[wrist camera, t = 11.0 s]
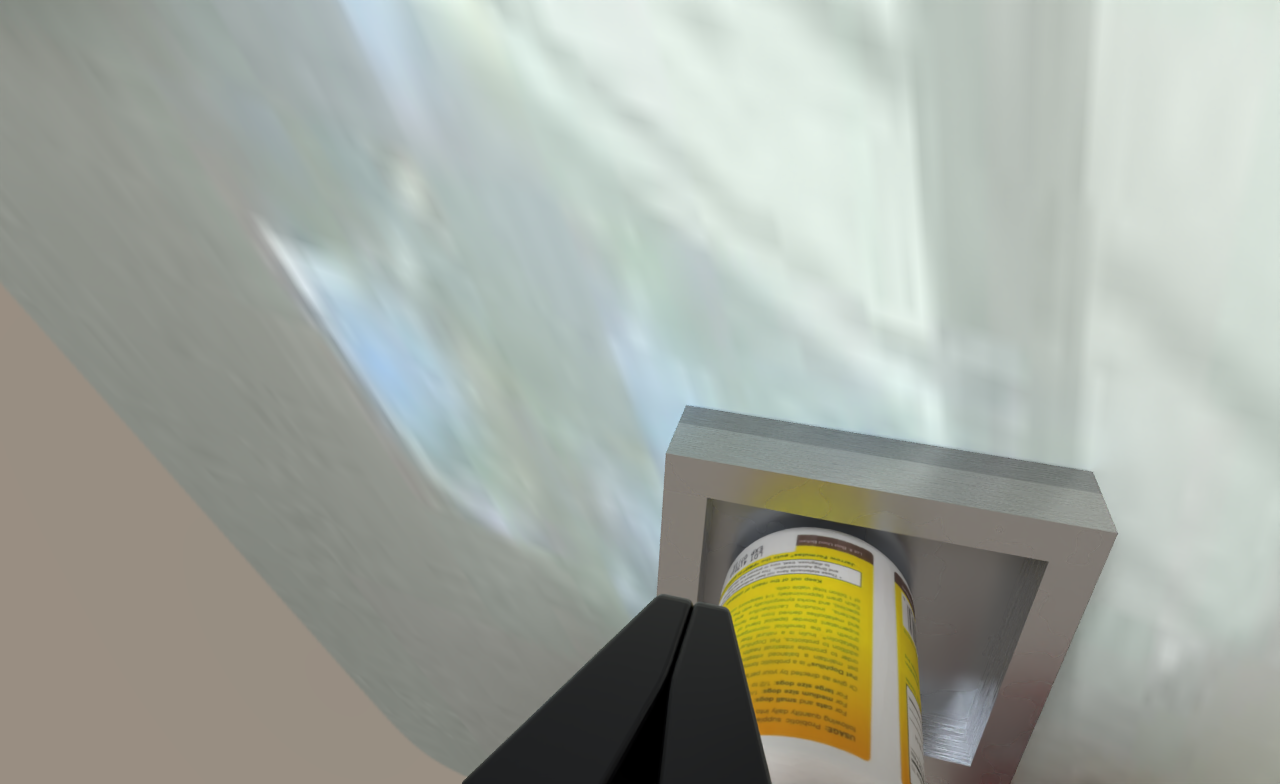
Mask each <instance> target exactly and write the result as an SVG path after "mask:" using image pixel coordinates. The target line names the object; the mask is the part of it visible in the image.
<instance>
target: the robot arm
mask: <svg viewBox="0 0 1280 784" xmlns="http://www.w3.org/2000/svg"><path fill="white" fill-rule="evenodd" d="M462 784H772V782H771V777H770V773H769V769H768V765H767V761H766V757H765V753H764V749H763V745H762V740H761V736H760V732H759V728H758V724H757V720H756V716H755V712H754V708H753V703H752V699H751V695H750V691H749V687H748V683H747V679H746V675H745V670H744V666H743V662H742V658H741V654H740V650H739V646H738V642H737V638H736V633H735V629H734V625H733V621H732V617H731V613H730V611H729V610H728V609H727V608H726V607H723V606H719V605H714V604H709V603H705V602H697V603H695V604H694V606H693V603H692V601H691V600H689V599H686V598H681V597H676V596H672V595H667V594H661V595H658V596H657V597H656V598H654V599H653V600H652V601H651V602H650V603H649V604H648V605H647V606H646V607H645V608H644V609H643V610H642V611H641V612H640V613H639V614H638V615H637V616H636V617H635V618H633V619H632V620H631V621H630V622H629V623H628V624H627V625H626V626H625V627H624V628H623V629H622V630H621V631H620V632H619V633H618V634H617V635H616V636H615V637H614V638H613V639H611V640H610V641H609V642H608V643H607V644H606V645H605V646H604V647H603V648H602V649H601V650H600V651H599V652H598V653H597V654H596V655H595V656H594V657H593V658H592V659H591V660H589V661H588V662H587V663H586V664H585V665H584V666H583V667H582V668H581V669H580V670H579V671H578V672H577V673H576V674H575V675H574V676H573V677H572V678H571V679H570V680H569V681H568V682H566V683H565V684H564V685H563V686H562V687H561V688H560V689H559V690H558V691H557V692H556V693H555V694H554V695H553V696H552V697H551V698H550V699H549V700H548V701H547V702H546V703H544V704H543V705H542V706H541V707H540V708H539V709H538V710H537V711H536V712H535V713H534V714H533V715H532V716H531V717H530V718H529V719H528V720H527V721H526V722H525V723H524V724H523V725H521V726H520V727H519V728H518V729H517V730H516V731H515V732H514V733H513V734H512V735H511V736H510V737H509V738H508V739H507V740H506V741H505V742H504V743H503V744H502V745H501V746H499V747H498V748H497V749H496V750H495V751H494V752H493V753H492V754H491V755H490V756H489V757H488V758H487V759H486V760H485V761H484V762H483V763H482V764H481V765H480V766H479V767H478V768H476V769H475V770H474V771H473V772H472V773H471V774H470V775H469V776H468V777H467V778H466V779H465V780H464V781H463V782H462Z"/></svg>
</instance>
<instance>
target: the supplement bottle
mask: <svg viewBox="0 0 1280 784" xmlns="http://www.w3.org/2000/svg"><path fill="white" fill-rule="evenodd" d="M719 606H723V607H726V608H727V609H728V610H729V611H730V613H731V617H732V621H733V625H734V629H735V633H736V638H737V642H738V646H739V650H740V654H741V658H742V662H743V666H744V670H745V675H746V679H747V683H748V687H749V691H750V695H751V699H752V703H753V708H754V712H755V716H756V720H757V724H758V728H759V732H760V736H761V740H762V745H763V749H764V753H765V757H766V761H767V765H768V769H769V773H770V777H771V782H772V784H925V769H924V752H923V733H922V717H921V700H920V684H919V668H918V651H917V636H916V624H915V611H914V603H913V598H912V594H911V592H910V589H909V586H908V584H907V582H906V580H905V579H904V577H903V575H902V574H901V572H900V571H899V570H898V568H897V567H896V566H895V565H894V563H893V562H892V561H891V560H890V559H889V558H888V557H886V556H885V555H884V554H883V553H882V552H880V551H879V550H878V549H876V548H875V547H873V546H872V545H870V544H868V543H867V542H865V541H863V540H861V539H859V538H857V537H854V536H852V535H849V534H846V533H843V532H839V531H835V530H831V529H825V528H817V527H799V528H790V529H785V530H781V531H777V532H774V533H771V534H769V535H766V536H764V537H762V538H760V539H758V540H756V541H755V542H753V543H752V544H750V545H749V546H748V547H747V548H745V549H744V550H743V551H742V552H741V553H740V554H739V555H738V557H737V558H736V559H735V561H734V562H733V564H732V565H731V567H730V569H729V571H728V573H727V576H726V579H725V582H724V585H723V588H722V592H721V597H720V602H719Z"/></svg>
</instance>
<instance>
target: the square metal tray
mask: <svg viewBox="0 0 1280 784" xmlns="http://www.w3.org/2000/svg"><path fill="white" fill-rule="evenodd" d="M799 527H817V528H825V529H831V530H835V531H839V532H843V533H846V534H849V535H852V536H854V537H857V538H859V539H861V540H863V541H865V542H867V543H868V544H870V545H872V546H873V547H875V548H876V549H878V550H879V551H880V552H882V553H883V554H884V555H885V556H886V557H888V558H889V559H890V560H891V561H892V562H893V563H894V565H895V566H896V567H897V568H898V570H899V571H900V572H901V574H902V575H903V577H904V579H905V580H906V582H907V584H908V586H909V589H910V592H911V594H912V598H913V603H914V611H915V624H916V636H917V651H918V668H919V684H920V700H921V717H922V733H923V752H924V769H925V783H928V784H1010V783H1011V780H1012V778H1013V776H1014V773H1015V771H1016V769H1017V766H1018V764H1019V762H1020V759H1021V757H1022V755H1023V753H1024V750H1025V748H1026V746H1027V743H1028V741H1029V739H1030V736H1031V734H1032V732H1033V729H1034V727H1035V725H1036V722H1037V720H1038V718H1039V715H1040V713H1041V711H1042V708H1043V706H1044V704H1045V701H1046V699H1047V697H1048V694H1049V692H1050V690H1051V687H1052V685H1053V683H1054V680H1055V678H1056V676H1057V674H1058V671H1059V669H1060V667H1061V664H1062V662H1063V660H1064V657H1065V655H1066V653H1067V650H1068V648H1069V646H1070V643H1071V641H1072V639H1073V636H1074V634H1075V632H1076V629H1077V627H1078V625H1079V622H1080V620H1081V618H1082V615H1083V613H1084V611H1085V608H1086V606H1087V604H1088V601H1089V599H1090V597H1091V595H1092V592H1093V590H1094V588H1095V585H1096V583H1097V581H1098V578H1099V576H1100V574H1101V571H1102V569H1103V567H1104V564H1105V562H1106V560H1107V557H1108V555H1109V553H1110V550H1111V548H1112V546H1113V543H1114V541H1115V539H1116V536H1117V534H1118V532H1117V530H1116V527H1115V525H1114V523H1113V520H1112V518H1111V515H1110V513H1109V510H1108V508H1107V505H1106V503H1105V501H1104V498H1103V496H1102V493H1101V491H1100V488H1099V486H1098V483H1097V481H1096V479H1095V476H1094V474H1093V472H1089V471H1083V470H1077V469H1071V468H1065V467H1059V466H1053V465H1047V464H1040V463H1034V462H1028V461H1022V460H1016V459H1010V458H1004V457H998V456H992V455H986V454H979V453H973V452H967V451H961V450H955V449H949V448H943V447H937V446H931V445H925V444H918V443H912V442H906V441H900V440H894V439H888V438H882V437H876V436H870V435H864V434H857V433H851V432H845V431H839V430H833V429H827V428H821V427H815V426H809V425H802V424H796V423H790V422H784V421H778V420H772V419H766V418H760V417H754V416H748V415H741V414H735V413H729V412H723V411H717V410H711V409H705V408H699V407H693V406H687V405H686V407H685V409H684V412H683V414H682V416H681V419H680V421H679V423H678V426H677V428H676V431H675V433H674V435H673V438H672V440H671V442H670V445H669V447H668V450H667V452H666V461H665V477H664V493H663V508H662V524H661V539H660V555H659V570H658V586H657V596H658V595H661V594H667V595H672V596H676V597H681V598H686V599H689V600H691V601H692V603H693V606H694V604H695V603H697V602H705V603H709V604H714V605H719V602H720V597H721V592H722V588H723V585H724V582H725V579H726V576H727V573H728V571H729V569H730V567H731V565H732V564H733V562H734V561H735V559H736V558H737V557H738V555H739V554H740V553H741V552H742V551H743V550H744V549H745V548H747V547H748V546H749V545H750V544H752V543H753V542H755V541H756V540H758V539H760V538H762V537H764V536H766V535H769V534H771V533H774V532H777V531H781V530H785V529H790V528H799Z"/></svg>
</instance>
